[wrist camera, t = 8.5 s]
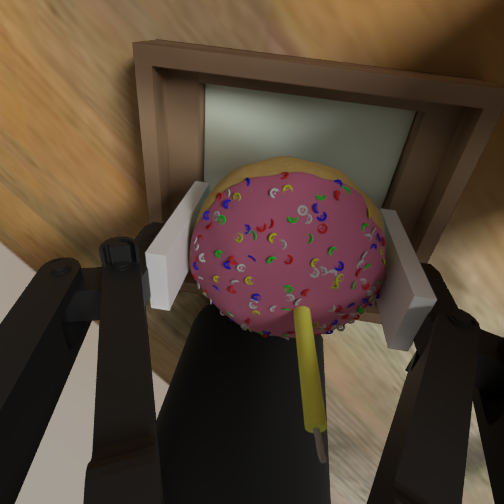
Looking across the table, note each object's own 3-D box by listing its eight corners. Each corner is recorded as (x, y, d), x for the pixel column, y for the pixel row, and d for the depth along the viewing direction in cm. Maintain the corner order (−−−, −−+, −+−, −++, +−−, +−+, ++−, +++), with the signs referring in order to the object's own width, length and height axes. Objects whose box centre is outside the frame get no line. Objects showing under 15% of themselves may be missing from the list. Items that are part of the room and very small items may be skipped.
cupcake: (405, 213, 18) (530, 456, 8) (289, 294, 22) (274, 518, 12) (289, 90, 15) (256, 219, 5) (183, 209, 19) (54, 405, 9)
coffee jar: (183, 347, 31) (68, 647, 16) (216, 263, 25) (82, 623, 10) (289, 385, 32) (274, 699, 17) (347, 313, 26) (401, 706, 11)
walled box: (157, 39, 17) (132, 42, 14) (482, 79, 16) (513, 90, 14) (170, 260, 25) (155, 286, 23) (386, 295, 24) (395, 326, 22)
